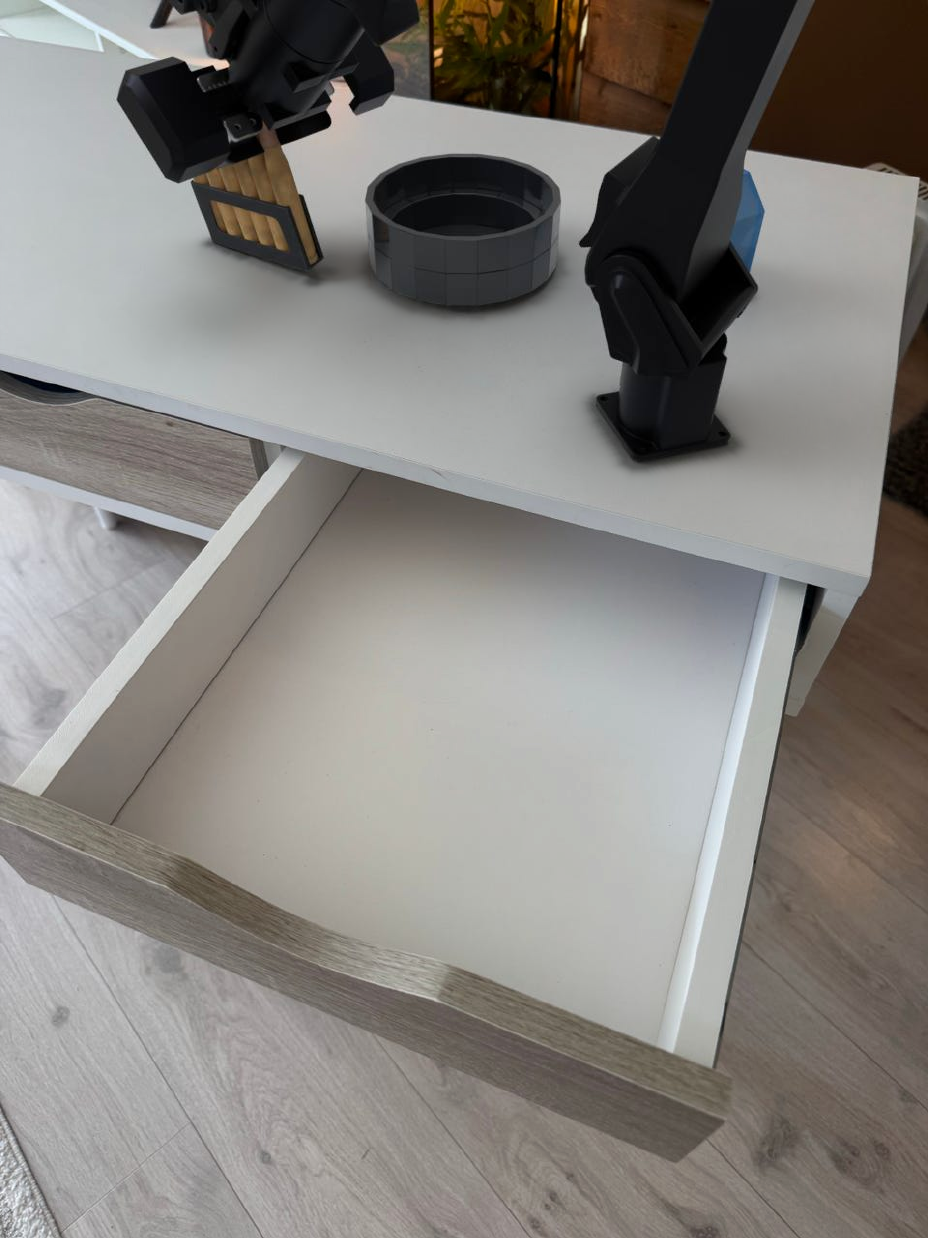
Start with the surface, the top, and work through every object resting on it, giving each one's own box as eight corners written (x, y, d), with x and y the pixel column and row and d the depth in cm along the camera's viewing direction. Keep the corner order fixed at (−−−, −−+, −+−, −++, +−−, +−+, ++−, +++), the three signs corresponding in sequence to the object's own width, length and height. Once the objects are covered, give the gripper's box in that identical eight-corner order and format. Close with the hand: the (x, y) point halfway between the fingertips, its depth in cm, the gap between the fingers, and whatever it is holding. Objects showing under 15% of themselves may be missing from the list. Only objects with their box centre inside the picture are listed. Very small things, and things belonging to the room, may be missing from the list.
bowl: (582, 296, 69) (590, 223, 65) (396, 326, 66) (392, 252, 62) (519, 212, 78) (522, 143, 74) (353, 235, 75) (347, 165, 71)
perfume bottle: (680, 317, 67) (714, 142, 58) (626, 280, 70) (650, 109, 61) (744, 294, 69) (786, 121, 60) (689, 259, 73) (720, 91, 64)
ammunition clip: (325, 258, 71) (276, 95, 61) (309, 272, 70) (257, 108, 60) (227, 229, 76) (167, 73, 66) (212, 242, 75) (149, 85, 65)
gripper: (353, -147, 57) (264, 20, 70) (86, -96, 48) (42, 85, 61) (447, 28, 60) (344, 158, 73) (211, 109, 50) (142, 240, 63)
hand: (226, 157), depth 67 cm, fingers closed on ammunition clip, 2 cm apart
